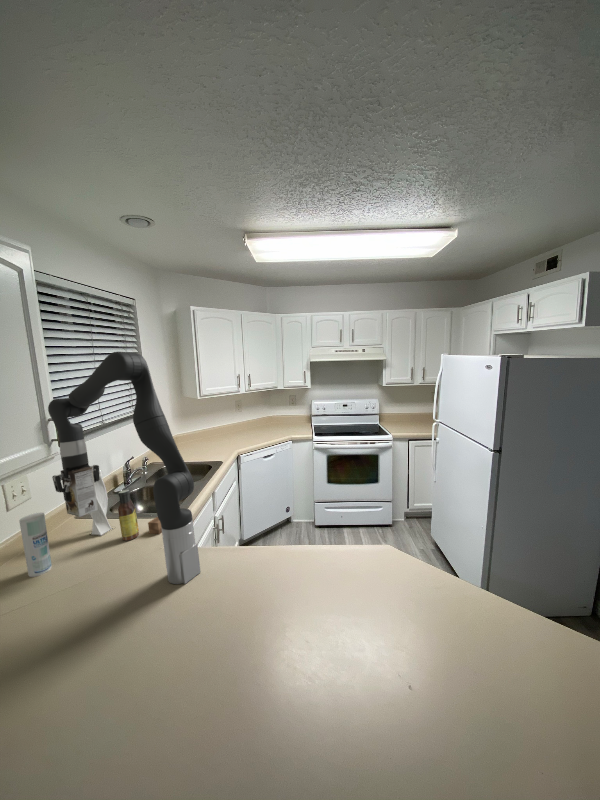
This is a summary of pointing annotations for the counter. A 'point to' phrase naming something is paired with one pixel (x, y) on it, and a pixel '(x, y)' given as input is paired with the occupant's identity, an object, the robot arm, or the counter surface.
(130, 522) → the sauce bottle
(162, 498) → the robot arm
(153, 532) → the walnut block
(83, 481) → the coffee box
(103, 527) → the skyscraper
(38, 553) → the spray can
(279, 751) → the counter surface
